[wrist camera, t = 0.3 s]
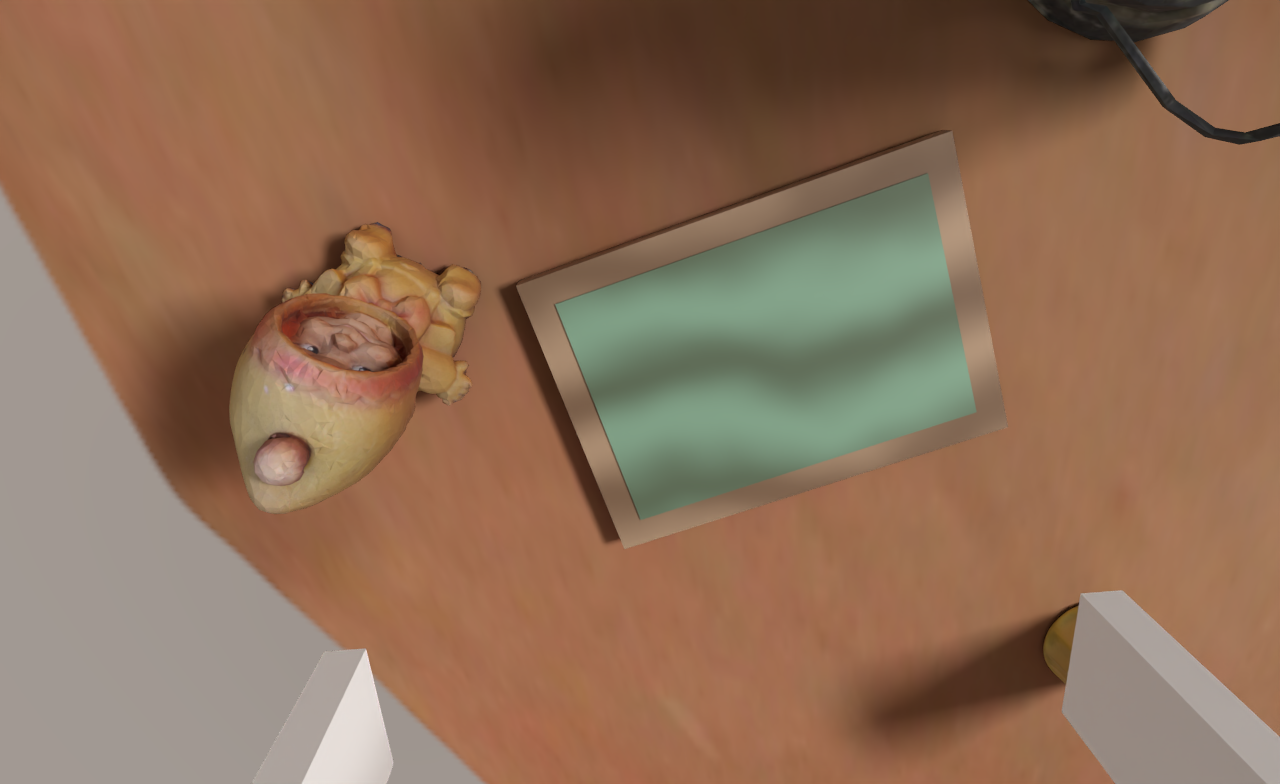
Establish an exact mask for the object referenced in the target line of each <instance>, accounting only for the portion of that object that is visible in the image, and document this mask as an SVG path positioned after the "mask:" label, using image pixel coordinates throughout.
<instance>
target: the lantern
mask: <svg viewBox="0 0 1280 784" xmlns="http://www.w3.org/2000/svg"><path fill="white" fill-rule="evenodd" d="M1028 1H1029V2H1030V3H1031V4H1032V5H1033V6H1034V7H1035V8H1036V9H1037V10H1038V11H1039V12H1040V13H1041V14H1042V15H1043V16H1044V17H1045V18H1046V19H1047V20H1049V21H1051V22H1053V23H1056V24H1058V25H1060V26H1062V27H1064V28H1066V29H1069V30H1071V31H1073V32H1075V33H1077V34H1080V35H1082V36H1084V37H1086V38H1088V39H1091V40H1111V41H1115V42H1116V44H1117V45H1118V46H1119V48H1120V49H1121V50H1122V52H1123V53H1124V54H1125V56H1126V57H1127V59H1128V60H1129V61H1130V63H1131V64H1132V65H1133V67H1134V68H1135V69H1136V71H1137V72H1138V74H1139V75H1140V76H1141V78H1142V79H1143V80H1144V82H1145V83H1146V84H1147V86H1148V87H1149V89H1150V90H1151V91H1152V93H1153V94H1154V95H1155V97H1156V98H1157V99H1158V101H1159V102H1160V104H1161V105H1162V106H1163V107H1164V108H1165V109H1167V110H1168V111H1169V112H1171V113H1172V114H1174V115H1175V116H1176V117H1178V118H1179V119H1181V120H1182V121H1183V122H1185V123H1186V124H1188V125H1189V126H1190V127H1192V128H1193V129H1195V130H1196V131H1197V132H1199V133H1200V134H1202V135H1203V136H1204V137H1208V138H1212V139H1217V140H1221V141H1226V142H1230V143H1235V144H1245V143H1251V142H1256V141H1262V140H1266V139H1270V138H1274V137H1278V136H1280V123H1279V124H1275V125H1271V126H1268V127H1264V128H1261V129H1257V130H1253V131H1250V132H1246V133H1244V132H1238V131H1232V130H1225V129H1219V128H1215V127H1213V126H1212V125H1210V124H1209V123H1208V122H1206V121H1205V120H1203V119H1202V118H1200V117H1199V116H1198V115H1196V114H1195V113H1193V112H1192V111H1190V110H1189V109H1188V108H1186V107H1185V106H1183V105H1182V104H1181V103H1179V102H1178V101H1176V100H1175V98H1174V97H1173V96H1172V94H1171V93H1170V91H1169V90H1168V89H1167V87H1166V86H1165V85H1164V83H1163V82H1162V81H1161V79H1160V78H1159V76H1158V75H1157V74H1156V72H1155V71H1154V70H1153V68H1152V67H1151V66H1150V64H1149V63H1148V61H1147V60H1146V59H1145V57H1144V56H1143V55H1142V53H1141V52H1140V51H1139V49H1138V48H1137V46H1136V45H1135V44H1134V42H1137V41H1140V40H1144V39H1147V38H1151V37H1154V36H1158V35H1161V34H1165V33H1168V32H1172V31H1175V30H1179V29H1183V28H1185V27H1187V26H1189V25H1191V24H1192V23H1194V22H1196V21H1198V20H1199V19H1201V18H1203V17H1205V16H1206V15H1208V14H1209V13H1211V12H1212V11H1213V10H1215V9H1216V8H1218V7H1219V6H1221V5H1222V4H1224V3H1225V2H1227V1H1228V0H1028Z"/></svg>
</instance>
